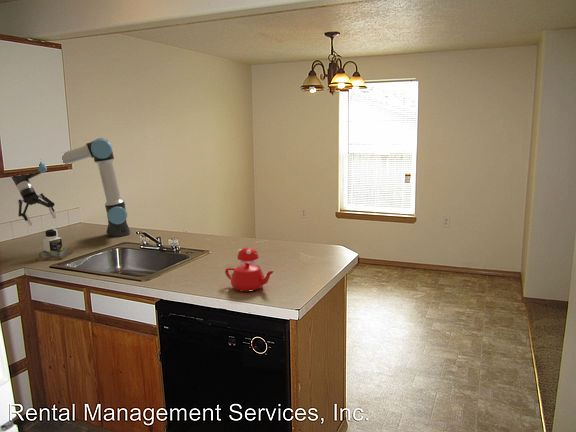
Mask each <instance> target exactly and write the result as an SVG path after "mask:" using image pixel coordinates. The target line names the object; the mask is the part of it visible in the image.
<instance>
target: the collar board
mask: <svg viewBox="0 0 576 432" xmlns="http://www.w3.org/2000/svg"><path fill="white" fill-rule="evenodd" d="M62 248H63V250H60V251H56V252H52V253H50V252H47V251H44V250H42V251H41V252H39V253H38V257H36V258H35V260H36V261H61V260H64V259H66V258H67V257H68V256H70V255H71V254H73V251H72V250H69V247H62Z"/></svg>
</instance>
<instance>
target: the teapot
mask: <svg viewBox="0 0 576 432" xmlns="http://www.w3.org/2000/svg"><path fill="white" fill-rule="evenodd" d="M244 263H245V265H238V266H236V267H235V268H234V267H227V268H225V271H224V273H225V275H226V277H227V279H228V280H230V284H231V286H232V288H234V290H236V289H237V290H236V291H239V290H242V291H249V290H256V289H258V290H260V289H262V288H263V287H264V285H266V284H267V283H269V281H270V276H271V275H272V274H273V273H274V272H275V271H274V270H270V271H268V272H267V274H266V276H265V274H264V272H263V271H262V269H261V266H259V265H256V264H255V265H250V262H244ZM229 271H233V272H232V273H231V274H232V275H230V273H229ZM259 288H260V289H259ZM242 291H241V292H242ZM256 291H257V290H256Z"/></svg>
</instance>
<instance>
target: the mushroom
mask: <svg viewBox="0 0 576 432" xmlns="http://www.w3.org/2000/svg"><path fill="white" fill-rule="evenodd" d="M237 253H238V254H237V260H238V261H239V264H240V265H245V263H244V262H250V265H256V260H258V259H259V257H260V256H259V254H258V251H257V250H256V249H254V248H253V247H248V246H247V247H244V248H238V249H237ZM240 265H239V266H240Z"/></svg>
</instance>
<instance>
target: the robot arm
mask: <svg viewBox="0 0 576 432" xmlns="http://www.w3.org/2000/svg"><path fill="white" fill-rule="evenodd" d="M64 152H65V153H64V155H63V156H62V160H63V163H65V164H66V165H69V164H72V163H76V162H79V161H81V160H84V159H88V158H91V159H93V162H94V163H95V164H96V165H97V167H98V170H99V175H100V179H101V184H102V187H103V193H104V196H105V200H106V202H105V203H104V206H105V211H106V214H107V215H106V217H107V228H106V233H105V234H106V236H107V237H110V238H113V237H114V238H116V237H117V238H118V237H125V236H129V235H130V234H131V230H130V227H129V225H128V224H129V223H127V218H128V212H127V209H126V201H125V200H123V199H122V198H121V195H120V190H119V184H118V181H117V176H116V172H115V169H114V164H113V162H114V159H115V156H114V152H113V146H112V144H111V142H110V141H109V140H108V139H107V138H103V137H100V138H96V139H94V140H92V141H90V142H88V143H85V145H83V146H78V147H77V148H73V149H70V150H67V152H66V151H64ZM38 171H40V173H35V174H29V175H21V176H13V177H11V176H10V177H11V179H12V181H13V183H14V185H15V186H16V189H17V190H18V192H19V193H20V196H21V198H22V199H18V201H17V203H18V217H19V218H20V217H22V218H23V219H24V221H25V222H27V223H28V225H29V226H30V227H31V226H32V225H33V224H32V221H31V219H30V217H29V216H28V214H27V212H28V211H27V210H28V208H29V206H32V205H36V204H38V205H42V206H44V207H46V208H48V210H49V213H50V215H51V216H52V219H56V214H55V209H54V206H55V205H56V204H55V202H54V201H52V200H50V198H47V197H46V196H45V195H44V193H40V194H37V192H36V191H35V188H33V185H32V183H31V182H30V179H32V178H34V177H37V176H39V175H41V174H43V173H45V172H46V171H48V170H47V167H46V166H45V164H44V163H43V162H42V161H41V162H40V164H39V169H38ZM23 203H25V204H26V205H25V207H24V209H22V207H23ZM22 210H23V212H22Z"/></svg>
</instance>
